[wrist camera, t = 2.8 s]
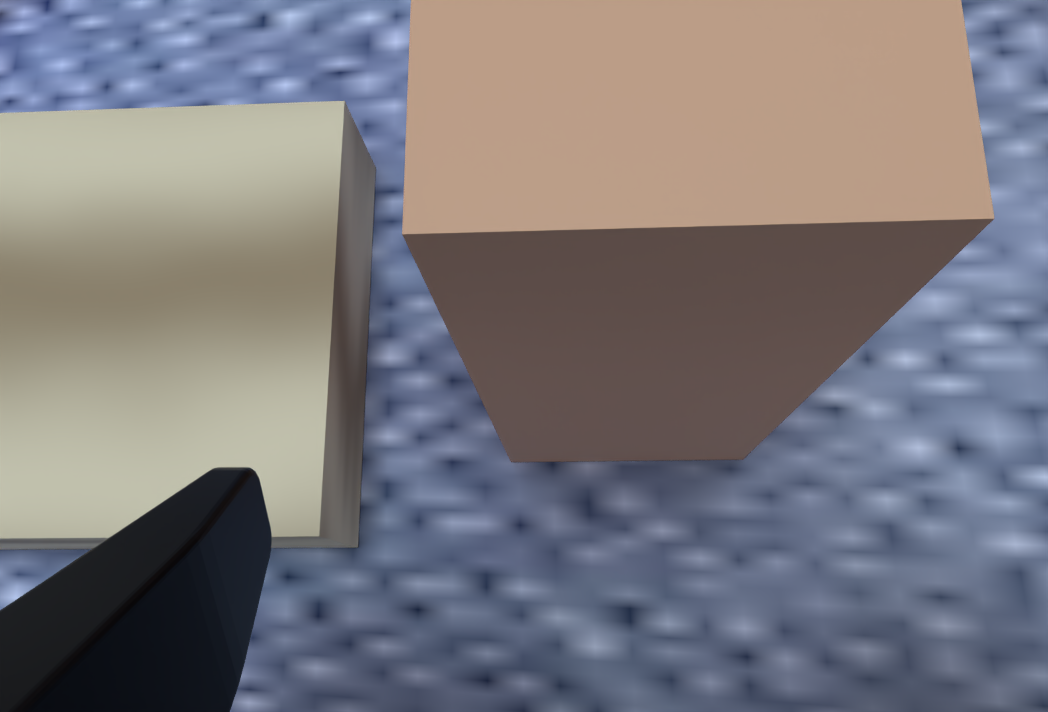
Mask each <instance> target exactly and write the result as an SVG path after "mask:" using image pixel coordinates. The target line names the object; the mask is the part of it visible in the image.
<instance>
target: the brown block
mask: <svg viewBox="0 0 1048 712" xmlns="http://www.w3.org/2000/svg"><path fill="white" fill-rule="evenodd" d="M993 219H994V212H993V206H992V199H991V193H990V186H989V180H988V173H987V167H986V160H985V154H984V147H983V141H982V134H981V128H980V121H979V114H978V108H977V101H976V95H975V88H974V82H973V75H972V69H971V62H970V56H969V49H968V43H967V36H966V30H965V23H964V17H963V10H962V4H961V0H411V16H410V42H409V69H408V96H407V123H406V149H405V176H404V203H403V230H402V235H403V237H404V239H405V241H406V243H407V245H408V247H409V249H410V251H411V253H412V256H413V258H414V260H415V262H416V264H417V266H418V268H419V270H420V272H421V274H422V276H423V279H424V281H425V283H426V285H427V287H428V289H429V291H430V293H431V295H432V297H433V300H434V302H435V304H436V306H437V308H438V310H439V312H440V314H441V316H442V318H443V321H444V323H445V325H446V327H447V329H448V331H449V333H450V335H451V337H452V339H453V341H454V344H455V346H456V348H457V350H458V352H459V354H460V356H461V358H462V360H463V362H464V365H465V367H466V369H467V371H468V373H469V375H470V377H471V379H472V381H473V383H474V385H475V388H476V390H477V392H478V394H479V396H480V398H481V400H482V402H483V404H484V406H485V409H486V411H487V413H488V415H489V417H490V419H491V421H492V423H493V425H494V427H495V429H496V432H497V434H498V436H499V438H500V440H501V442H502V444H503V446H504V448H505V450H506V453H507V455H508V457H509V459H510V461H511V462H575V461H663V460H743V459H744V458H745V457H746V456H747V455H748V454H749V453H750V452H751V451H752V450H753V449H754V448H755V447H756V446H757V445H759V444H760V443H761V442H762V441H763V440H764V439H765V438H766V437H767V436H768V435H769V434H770V433H771V432H772V431H773V430H774V429H775V428H776V427H777V426H778V425H779V424H780V423H782V422H783V421H784V420H785V419H786V418H787V417H788V416H789V415H790V414H791V413H792V412H793V411H794V410H795V409H796V408H797V407H798V406H799V405H800V404H801V403H802V402H803V401H804V400H806V399H807V398H808V397H809V396H810V395H811V394H812V393H813V392H814V391H815V390H816V389H817V388H818V387H819V386H820V385H821V384H822V383H823V382H824V381H825V380H826V379H827V378H828V377H830V376H831V375H832V374H833V373H834V372H835V371H836V370H837V369H838V368H839V367H840V366H841V365H842V364H843V363H844V362H845V361H846V360H847V359H848V358H849V357H850V356H851V355H853V354H854V353H855V352H856V351H857V350H858V349H859V348H860V347H861V346H862V345H863V344H864V343H865V342H866V341H867V340H868V339H869V338H870V337H871V336H872V335H873V334H874V333H875V332H877V331H878V330H879V329H880V328H881V327H882V326H883V325H884V324H885V323H886V322H887V321H888V320H889V319H890V318H891V317H892V316H893V315H894V314H895V313H896V312H897V311H898V310H899V309H901V308H902V307H903V306H904V305H905V304H906V303H907V302H908V301H909V300H910V299H911V298H912V297H913V296H914V295H915V294H916V293H917V292H918V291H919V290H920V289H921V288H922V287H924V286H925V285H926V284H927V283H928V282H929V281H930V280H931V279H932V278H933V277H934V276H935V275H936V274H937V273H938V272H939V271H940V270H941V269H942V268H943V267H944V266H945V265H946V264H948V263H949V262H950V261H951V260H952V259H953V258H954V257H955V256H956V255H957V254H958V253H959V252H960V251H961V250H962V249H963V248H964V247H965V246H966V245H967V244H968V243H969V242H971V241H972V240H973V239H974V238H975V237H976V236H977V235H978V234H979V233H980V232H981V231H982V230H983V229H984V228H985V227H986V226H987V225H988V224H989V223H990V222H991V221H992V220H993Z"/></svg>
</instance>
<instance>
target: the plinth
mask: <svg viewBox="0 0 1048 712" xmlns="http://www.w3.org/2000/svg"><path fill="white" fill-rule="evenodd" d="M375 174H376V167H375V165H374V163H373V161H372V159H371V156H370V154H369V152H368V150H367V148H366V146H365V144H364V142H363V139H362V137H361V135H360V133H359V131H358V129H357V127H356V124H355V122H354V120H353V118H352V116H351V114H350V112H349V109H348V107H347V105H346V103H345V101H329V102H301V103H273V104H244V105H216V106H188V107H160V108H132V109H104V110H76V111H48V112H20V113H0V550H20V549H93V548H94V547H96V546H97V545H99V544H100V543H102V542H103V541H105V540H106V539H108V538H109V537H111V536H112V535H114V534H115V533H117V532H118V531H120V530H121V529H123V528H124V527H126V526H127V525H129V524H130V523H132V522H133V521H135V520H136V519H138V518H139V517H141V516H142V515H144V514H145V513H147V512H148V511H150V510H151V509H153V508H154V507H156V506H157V505H159V504H160V503H162V502H163V501H165V500H166V499H168V498H169V497H171V496H172V495H174V494H175V493H177V492H178V491H180V490H181V489H183V488H184V487H186V486H187V485H188V484H190V483H191V482H193V481H194V480H196V479H197V478H199V477H200V476H202V475H203V474H205V473H206V472H208V471H210V470H211V469H213V468H217V467H250V468H251V469H253V470H254V471H256V473H257V475H258V477H259V479H260V483H261V487H262V492H263V496H264V501H265V505H266V509H267V514H268V518H269V522H270V527H271V534H272V545H271V548H357V547H358V538H359V516H360V495H361V473H362V452H363V430H364V409H365V388H366V366H367V345H368V323H369V302H370V281H371V259H372V238H373V216H374V195H375Z"/></svg>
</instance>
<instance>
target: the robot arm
mask: <svg viewBox="0 0 1048 712" xmlns="http://www.w3.org/2000/svg"><path fill="white" fill-rule="evenodd" d="M271 545H272V534H271V527H270V522H269V518H268V514H267V509H266V505H265V501H264V496H263V492H262V487H261V483H260V479H259V477H258V475H257V473H256V471H254V470H253V469H251V468H250V467H217V468H213V469H211V470H210V471H208V472H206V473H205V474H203V475H202V476H200V477H199V478H197V479H196V480H194V481H193V482H191V483H190V484H188V485H187V486H186V487H184V488H183V489H181V490H180V491H178V492H177V493H175V494H174V495H172V496H171V497H169V498H168V499H166V500H165V501H163V502H162V503H160V504H159V505H157V506H156V507H154V508H153V509H151V510H150V511H148V512H147V513H145V514H144V515H142V516H141V517H139V518H138V519H136V520H135V521H133V522H132V523H130V524H129V525H127V526H126V527H124V528H123V529H121V530H120V531H118V532H117V533H115V534H114V535H112V536H111V537H109V538H108V539H106V540H105V541H103V542H102V543H100V544H99V545H97V546H96V547H94V548H93V549H91V550H90V551H88V552H87V553H86V554H84V555H83V556H81V557H80V558H78V559H77V560H75V561H74V562H72V563H71V564H69V565H68V566H66V567H65V568H63V569H62V570H60V571H59V572H57V573H56V574H54V575H53V576H51V577H50V578H48V579H47V580H45V581H44V582H42V583H41V584H39V585H38V586H36V587H35V588H33V589H32V590H30V591H29V592H27V593H26V594H24V595H23V596H21V597H20V598H18V599H17V600H15V601H14V602H12V603H11V604H9V605H8V606H6V607H5V608H3V609H2V610H0V712H230V709H231V706H232V703H233V700H234V697H235V694H236V691H237V688H238V685H239V682H240V678H241V674H242V670H243V666H244V663H245V658H246V654H247V650H248V646H249V642H250V637H251V633H252V629H253V625H254V621H255V616H256V612H257V608H258V604H259V599H260V595H261V591H262V587H263V583H264V578H265V574H266V570H267V566H268V562H269V557H270V553H271Z"/></svg>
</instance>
